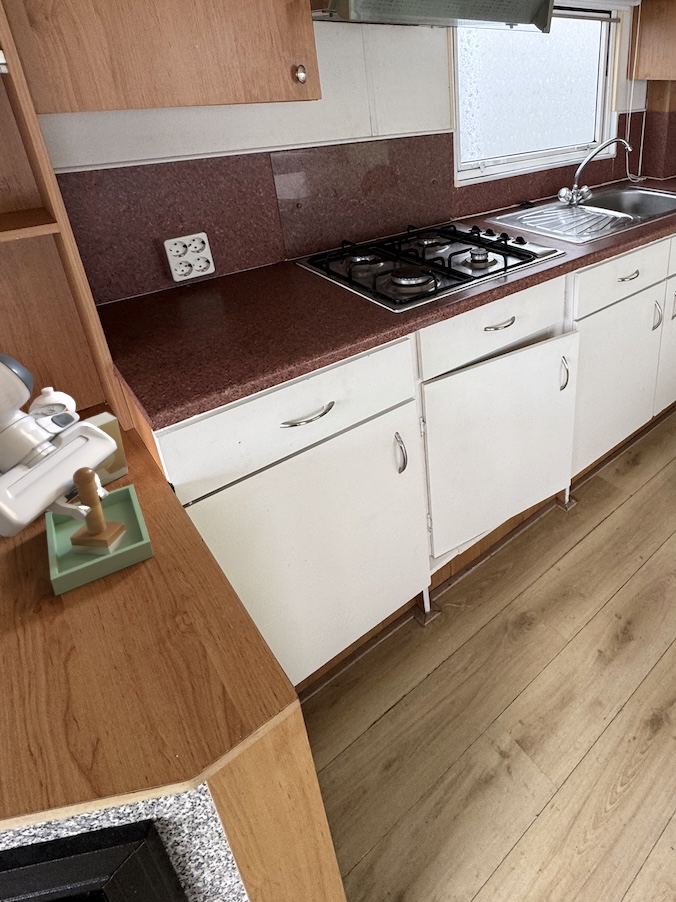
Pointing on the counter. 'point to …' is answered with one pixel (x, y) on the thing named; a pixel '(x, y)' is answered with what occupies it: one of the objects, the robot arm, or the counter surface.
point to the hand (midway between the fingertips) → (95, 507)
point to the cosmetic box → (117, 461)
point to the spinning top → (52, 399)
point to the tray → (85, 568)
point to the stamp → (94, 520)
